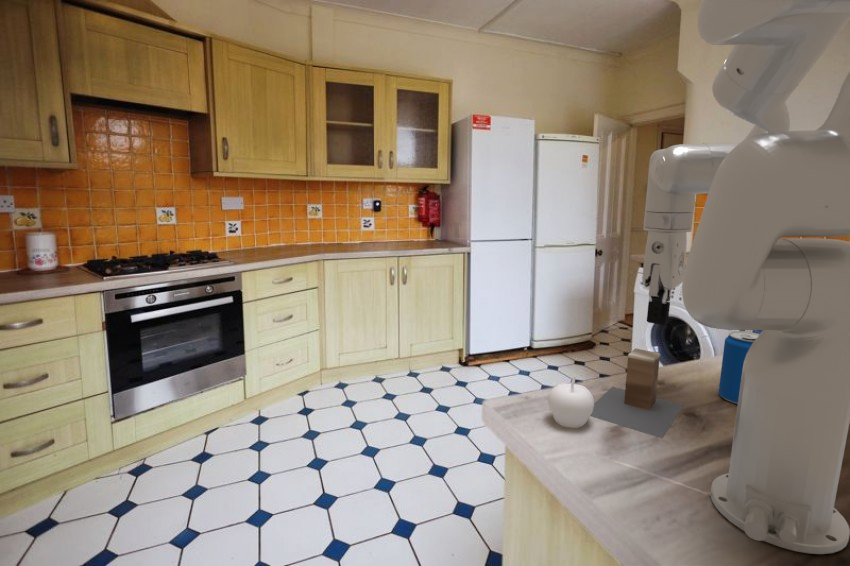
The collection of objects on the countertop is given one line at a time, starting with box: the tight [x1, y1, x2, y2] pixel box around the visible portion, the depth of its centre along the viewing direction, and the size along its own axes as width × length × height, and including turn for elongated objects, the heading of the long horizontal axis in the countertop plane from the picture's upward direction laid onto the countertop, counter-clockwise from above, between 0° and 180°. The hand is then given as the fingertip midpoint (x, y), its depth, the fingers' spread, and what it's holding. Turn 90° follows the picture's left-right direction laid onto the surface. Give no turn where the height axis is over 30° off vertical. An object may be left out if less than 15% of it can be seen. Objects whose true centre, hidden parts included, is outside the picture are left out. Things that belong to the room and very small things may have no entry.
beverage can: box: [717, 330, 760, 405], centre depth 80 cm, size 6×6×12 cm
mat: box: [590, 386, 685, 439], centre depth 77 cm, size 14×12×1 cm
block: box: [624, 348, 661, 411], centre depth 78 cm, size 4×4×9 cm
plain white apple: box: [547, 375, 595, 429], centre depth 73 cm, size 7×7×8 cm
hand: (657, 322), depth 84 cm, fingers closed
